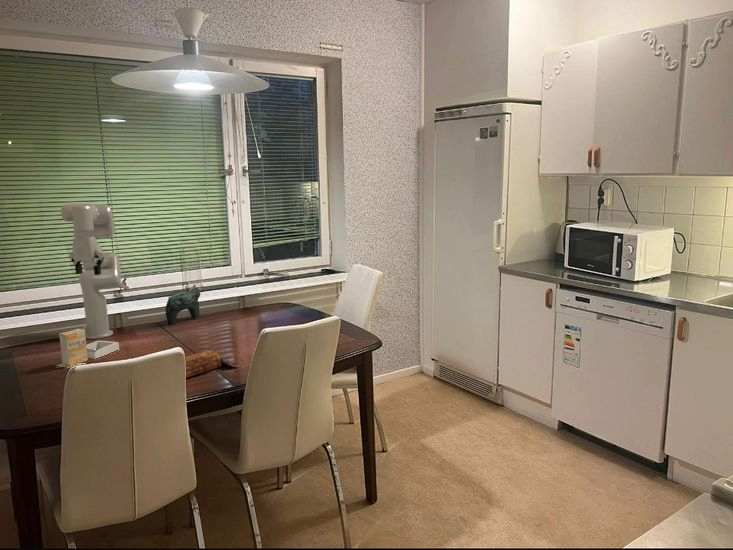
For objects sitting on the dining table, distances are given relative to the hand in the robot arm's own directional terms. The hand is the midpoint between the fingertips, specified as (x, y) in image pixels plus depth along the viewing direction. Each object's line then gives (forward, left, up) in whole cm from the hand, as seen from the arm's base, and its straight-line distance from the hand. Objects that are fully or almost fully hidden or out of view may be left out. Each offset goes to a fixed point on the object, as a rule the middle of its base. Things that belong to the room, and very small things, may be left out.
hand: (88, 274), depth 239 cm
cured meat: (+61, -11, -34) cm, 71 cm away
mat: (+7, -19, -33) cm, 39 cm away
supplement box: (+7, -19, -33) cm, 39 cm away
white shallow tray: (+6, -6, -33) cm, 34 cm away
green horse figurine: (+11, +50, -34) cm, 61 cm away
